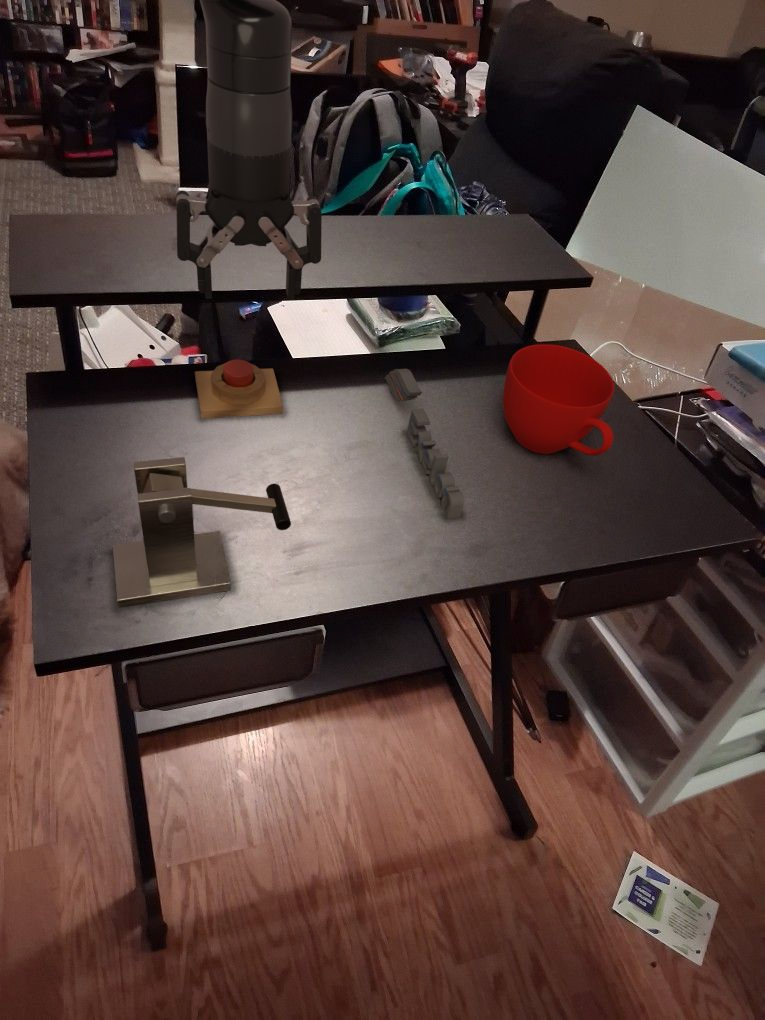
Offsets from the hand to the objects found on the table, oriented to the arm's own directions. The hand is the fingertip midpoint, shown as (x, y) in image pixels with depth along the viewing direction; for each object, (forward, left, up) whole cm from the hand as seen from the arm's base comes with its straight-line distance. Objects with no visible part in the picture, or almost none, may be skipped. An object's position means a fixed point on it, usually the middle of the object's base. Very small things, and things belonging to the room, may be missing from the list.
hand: (250, 295), depth 78 cm
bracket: (-1, -25, -17) cm, 30 cm away
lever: (+3, -23, -9) cm, 25 cm away
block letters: (+21, +2, -17) cm, 27 cm away
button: (-3, +4, -14) cm, 15 cm away
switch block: (-3, +4, -17) cm, 18 cm away
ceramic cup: (+37, +7, -17) cm, 42 cm away
